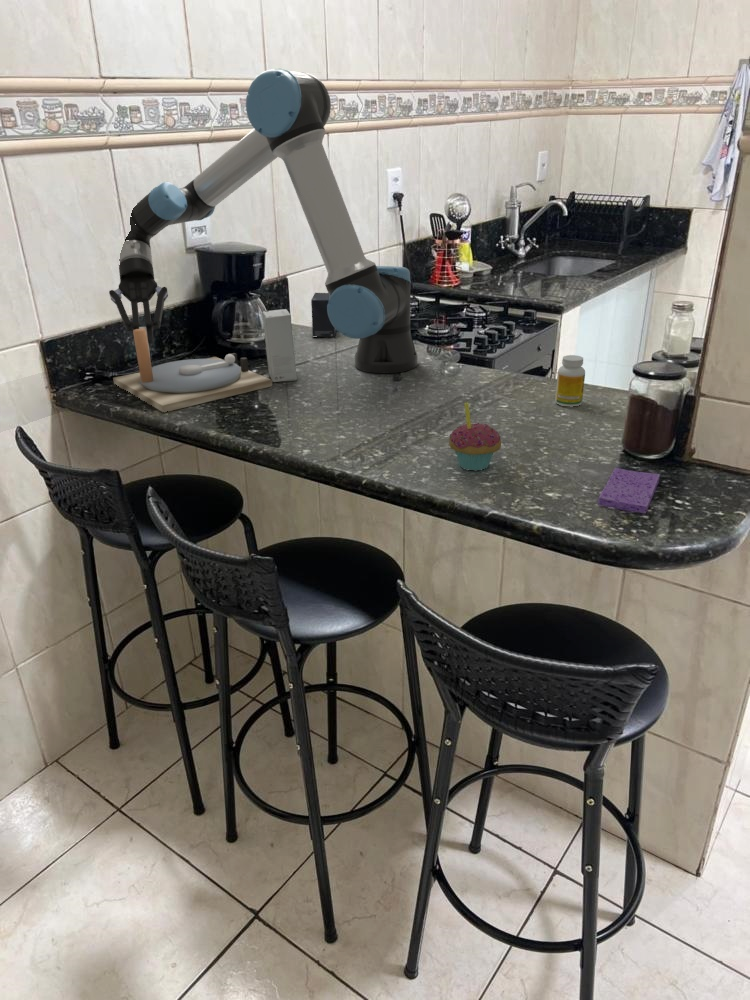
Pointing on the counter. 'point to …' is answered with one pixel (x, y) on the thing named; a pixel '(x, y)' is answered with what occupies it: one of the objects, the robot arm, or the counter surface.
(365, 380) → the counter surface
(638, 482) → the sponges
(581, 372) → the supplement bottle
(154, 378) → the cam disc
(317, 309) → the small box
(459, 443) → the cupcake
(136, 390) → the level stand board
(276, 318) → the skincare box
